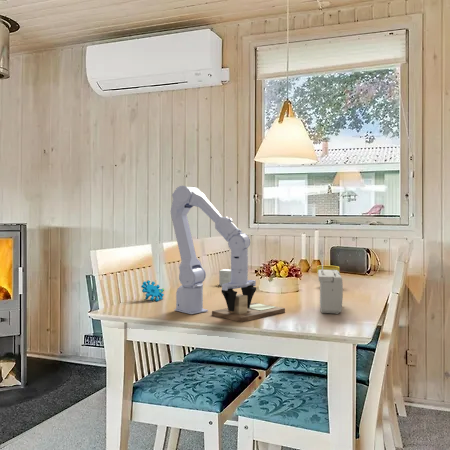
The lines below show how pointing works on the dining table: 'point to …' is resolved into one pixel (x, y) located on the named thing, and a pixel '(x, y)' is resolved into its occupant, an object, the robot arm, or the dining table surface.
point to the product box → (224, 276)
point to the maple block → (240, 304)
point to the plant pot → (328, 268)
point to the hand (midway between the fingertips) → (239, 309)
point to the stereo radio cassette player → (330, 290)
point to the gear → (152, 291)
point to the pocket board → (250, 312)
